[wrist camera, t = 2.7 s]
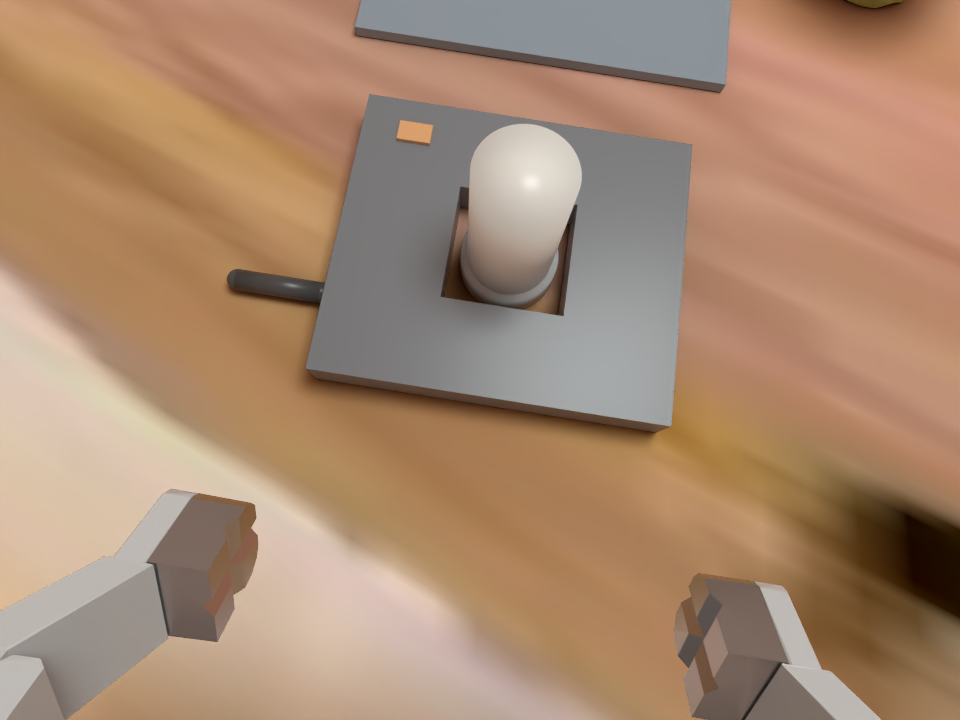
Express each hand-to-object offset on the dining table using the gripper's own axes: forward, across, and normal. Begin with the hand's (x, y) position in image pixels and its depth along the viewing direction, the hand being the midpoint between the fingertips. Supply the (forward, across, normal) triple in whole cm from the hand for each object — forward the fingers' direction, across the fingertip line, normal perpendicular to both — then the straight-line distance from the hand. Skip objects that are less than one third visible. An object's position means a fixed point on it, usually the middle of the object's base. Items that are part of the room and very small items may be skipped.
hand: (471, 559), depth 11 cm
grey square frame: (+20, +2, +2) cm, 20 cm away
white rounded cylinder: (+20, 0, +2) cm, 20 cm away
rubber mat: (+33, 0, -11) cm, 35 cm away
